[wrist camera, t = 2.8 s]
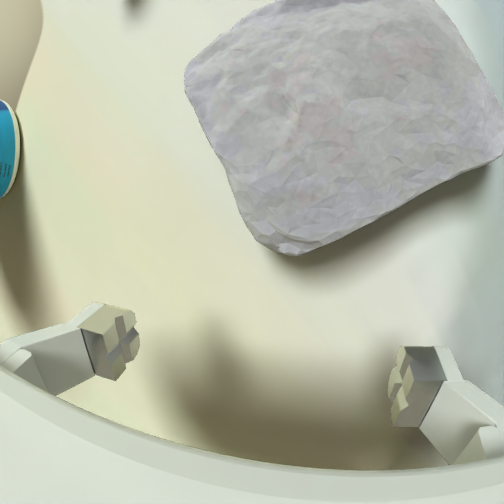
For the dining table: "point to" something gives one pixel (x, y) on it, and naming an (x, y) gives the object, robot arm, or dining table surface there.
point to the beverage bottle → (8, 147)
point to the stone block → (340, 113)
